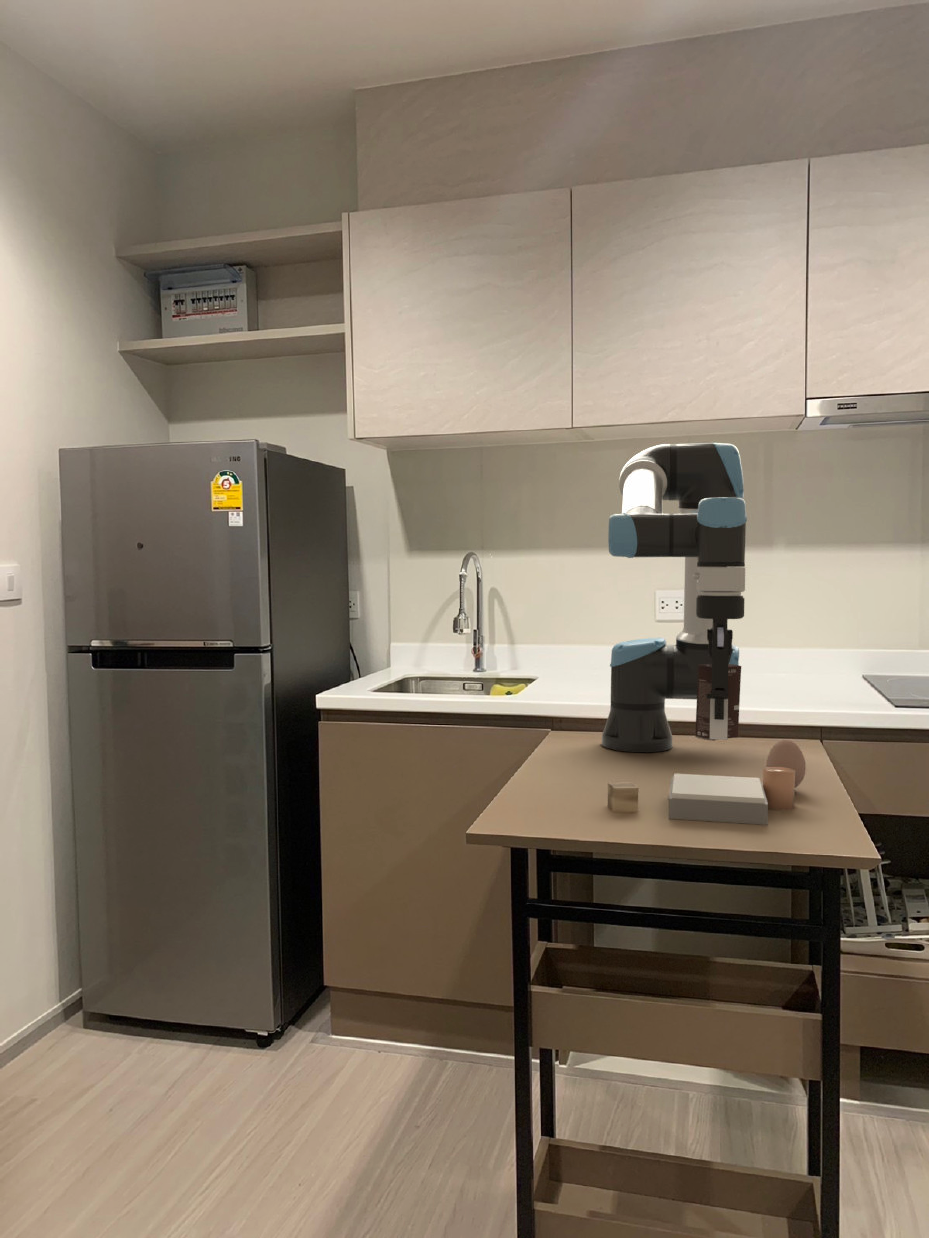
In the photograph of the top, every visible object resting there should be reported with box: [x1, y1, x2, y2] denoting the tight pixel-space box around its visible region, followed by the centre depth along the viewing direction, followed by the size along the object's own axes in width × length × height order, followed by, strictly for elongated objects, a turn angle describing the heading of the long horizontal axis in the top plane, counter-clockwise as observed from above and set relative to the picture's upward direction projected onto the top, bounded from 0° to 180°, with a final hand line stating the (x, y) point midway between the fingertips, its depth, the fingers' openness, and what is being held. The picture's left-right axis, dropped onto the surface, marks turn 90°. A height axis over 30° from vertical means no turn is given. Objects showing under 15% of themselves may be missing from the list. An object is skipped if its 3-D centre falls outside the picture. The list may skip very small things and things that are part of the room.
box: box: [694, 664, 742, 742], centre depth 157 cm, size 6×4×12 cm
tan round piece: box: [762, 766, 796, 811], centre depth 160 cm, size 5×5×6 cm
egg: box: [765, 738, 807, 789], centre depth 170 cm, size 7×7×9 cm
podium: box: [667, 773, 769, 826], centre depth 158 cm, size 15×15×4 cm
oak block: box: [607, 781, 639, 813], centre depth 158 cm, size 4×4×4 cm
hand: (717, 734), depth 157 cm, fingers closed on box, 7 cm apart
